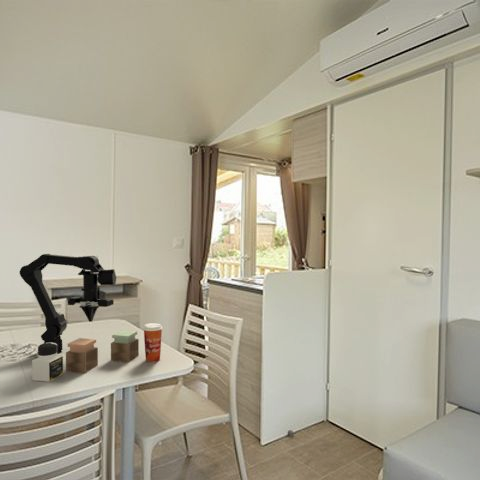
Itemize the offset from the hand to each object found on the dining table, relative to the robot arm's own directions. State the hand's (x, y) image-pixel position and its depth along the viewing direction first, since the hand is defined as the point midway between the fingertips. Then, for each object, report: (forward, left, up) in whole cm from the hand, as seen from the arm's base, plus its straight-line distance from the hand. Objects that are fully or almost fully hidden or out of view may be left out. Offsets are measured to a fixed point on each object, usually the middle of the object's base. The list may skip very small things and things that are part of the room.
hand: (90, 321), depth 163 cm
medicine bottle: (-19, -22, -13) cm, 32 cm away
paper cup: (+19, -24, -13) cm, 33 cm away
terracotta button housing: (-7, -19, -13) cm, 24 cm away
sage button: (+10, -16, -10) cm, 21 cm away
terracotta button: (-7, -19, -10) cm, 23 cm away
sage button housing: (+10, -16, -13) cm, 23 cm away
